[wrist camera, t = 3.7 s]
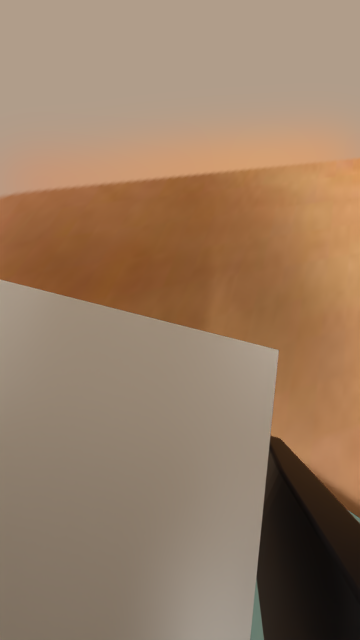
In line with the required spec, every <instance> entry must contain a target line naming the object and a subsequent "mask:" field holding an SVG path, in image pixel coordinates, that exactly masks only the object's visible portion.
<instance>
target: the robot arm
mask: <svg viewBox="0 0 360 640" xmlns="http://www.w3.org/2000/svg"><path fill="white" fill-rule="evenodd" d="M256 579H257V587H258V595H259V603H260V612H261V620H262V628H263V636H264V640H360V523H359V522H358V521H357V520H356V519H355V518H354V517H353V515H352V514H351V513H350V512H349V511H348V510H347V509H346V508H345V507H344V506H343V505H342V504H341V503H340V502H339V501H338V499H337V498H336V497H335V496H334V495H333V494H332V493H331V492H330V491H329V490H328V489H327V488H326V487H325V486H324V485H323V484H322V482H321V481H320V480H319V479H318V478H317V477H316V476H315V475H314V474H313V473H312V472H311V471H310V470H309V469H308V468H307V466H306V465H305V464H304V463H303V462H302V461H301V460H300V459H299V458H298V457H297V456H296V455H295V454H294V453H293V452H292V451H291V449H290V448H289V447H288V446H287V445H286V444H285V443H284V442H283V441H282V440H281V439H280V438H277V437H273V436H270V444H269V454H268V464H267V474H266V485H265V495H264V505H263V515H262V525H261V535H260V545H259V555H258V565H257V575H256Z"/></svg>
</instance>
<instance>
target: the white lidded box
mask: <svg viewBox="0 0 360 640" xmlns="http://www.w3.org/2000/svg"><path fill="white" fill-rule="evenodd" d="M278 353H279V350H277V349H273V348H269V347H265V346H261V345H257V344H253V343H249V342H245V341H241V340H237V339H233V338H230V337H226V336H222V335H218V334H214V333H210V332H206V331H202V330H198V329H194V328H190V327H186V326H182V325H178V324H174V323H170V322H166V321H162V320H158V319H154V318H150V317H146V316H143V315H139V314H135V313H131V312H127V311H123V310H119V309H115V308H111V307H107V306H103V305H99V304H95V303H91V302H87V301H83V300H79V299H75V298H71V297H67V296H63V295H60V294H56V293H52V292H48V291H44V290H40V289H36V288H32V287H28V286H24V285H20V284H16V283H12V282H8V281H4V280H0V640H250V636H251V626H252V616H253V606H254V595H255V585H256V575H257V565H258V555H259V545H260V535H261V525H262V515H263V505H264V495H265V485H266V474H267V464H268V454H269V444H270V434H271V424H272V414H273V404H274V394H275V384H276V374H277V364H278Z"/></svg>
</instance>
